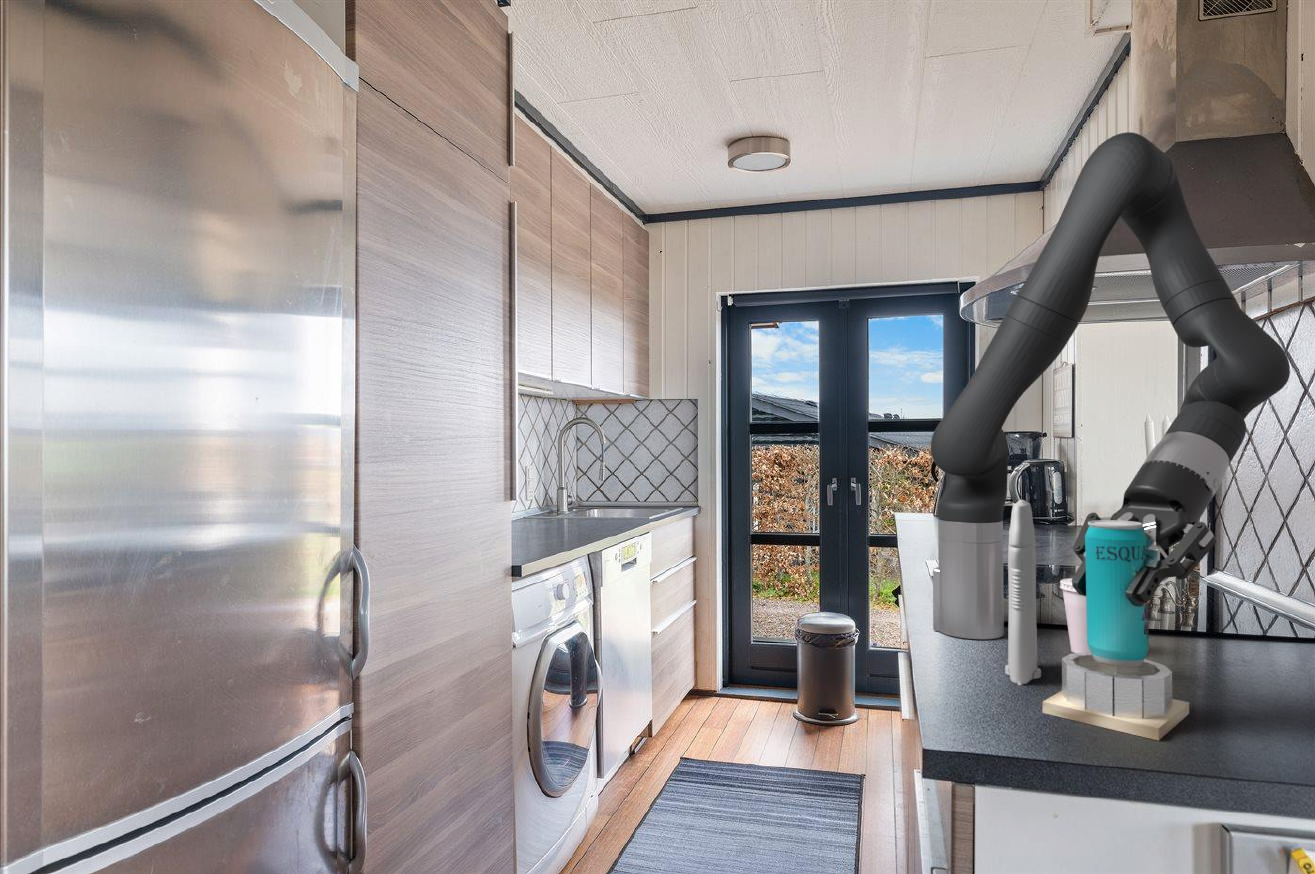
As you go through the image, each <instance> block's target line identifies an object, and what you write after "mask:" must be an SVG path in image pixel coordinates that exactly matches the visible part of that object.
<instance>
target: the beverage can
mask: <svg viewBox="0 0 1315 874" xmlns="http://www.w3.org/2000/svg"><path fill="white" fill-rule="evenodd" d="M1088 525H1089V528H1088V530H1087V532H1086V535H1085V556H1086V605H1087V644H1088V646H1089V649H1090V651H1091V654H1092V656H1093V658H1094V659H1095V660H1096V661H1097V662H1099V663H1102V664H1106V665H1110V666H1117V667H1137V666H1140V665H1141V664H1142V663H1143V661H1144V659H1146V657H1147V653H1148V651H1149V611H1148V610H1149V605H1148V604H1149V601H1148V602H1147V603H1144V605H1143V606H1142V607H1138V606H1133V605H1132V603H1131V602H1130V601H1129V600H1128V598H1127V597H1126V591H1127V589H1128V587H1129V586H1130V584H1131V582H1132V581H1133V579H1134V578H1135V576H1136V574H1137V573H1138V571H1139V570H1140V568H1141V567H1145V568H1146V564H1145V557H1146V536H1145V534H1144V532H1143V530H1142V526H1143V524H1142V523H1139V522H1132V521H1117V520H1097V521H1089V522H1088Z"/></svg>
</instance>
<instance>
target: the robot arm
mask: <svg viewBox="0 0 1315 874" xmlns="http://www.w3.org/2000/svg"><path fill="white" fill-rule="evenodd" d="M1182 190H1183V189H1182V187H1181V184H1180V180H1179V177H1178V174H1177V171H1176V168H1175V164H1174V163H1173V160H1172V159H1171V158H1170V157H1169V155H1168V154H1167V153H1165V152H1164V151H1163V150H1161V149H1160V148H1159V147H1157V145H1155V143H1153V142H1152V141H1150V139H1147V138H1146V137H1145V136H1143V135H1141V134H1139V133H1137V132H1132V131H1131V132H1121V133H1118V134H1115V135H1113V136H1110V137H1108V138H1107V139H1106V140H1104V141H1103V142H1102V143H1100V145H1098V146H1097V148H1096V149H1094V150H1093V152H1091V154H1090V155H1089V157H1088V159H1087V160H1086V161H1085V163H1084V165H1083V166H1082V169H1081V171H1080V172H1079V175H1078V177H1077V179H1076V180H1075V183H1074V185H1073V188H1072V191H1071V192H1070V194H1069V197H1068V199H1067V202H1066V203H1065V205H1064V208H1063V209H1062V212H1061V215H1060V217H1059V219H1058V220H1057V223H1056V225H1055V227H1054V229H1053V230H1052V232H1051V234H1050V237H1049V238H1048V240H1047V242H1046V244H1045V246H1043V249H1042V251H1041V253H1040V255H1039V256H1038V257H1037V259H1036V262H1035V264H1034V265H1033V267H1032V269H1031V271H1030V272H1029V274H1028V276H1027V278H1026V279H1025V281H1024V282H1023V284H1022V285H1021V287H1020V289H1019V290H1018V292H1017V293H1016V294H1017V295H1015V297H1014V299H1013V300H1012V302H1011V304H1010V306H1009V307H1008V309H1007V311H1006V313H1005V315H1004V317H1003V318H1002V320H1001V323H999V326H998V328H997V330H996V331H995V334H994V335H993V337H992V339H991V341H990V343H989V344H988V345H987V347H986V349H985V351H984V353H983V355H982V357H981V359H980V361H979V363H978V365H977V367H976V369H975V370H974V372H973V374H972V376H971V377H970V379H969V381H968V382H967V383H966V385H965V387H964V388H963V389H962V391H961V393H960V394H959V395H958V397H957V398H956V400H955V401H954V402H953V404H952V405H951V407H950V408H949V409H948V410H947V411H946V414H945V415H944V416H943V417H942V419H941V420H940V422H939V423H938V424H937V426H936V428H935V429H934V431H933V434H932V437H931V440H930V453H931V457H932V459H933V462H934V464H935V465H936V466H937V467H938V468H939V469H940V470H941V471H942V472H944V473H946V474H945V475H946V479H945V480H946V481H945V489H944V492H943V494H942V497H941V498H940V499H939V502H938V506H937V518H938V520H937V523H938V524H937V533H938V534H937V535H938V537H937V538H938V539H937V540H938V544H937V545H938V546H937V547H938V548H937V549H938V551H937V552H938V557H937V558H938V566H937V567H934V568H933V570H932V604H933V605H932V610H933V611H932V612H933V613H932V616H933V617H932V620H933V622H932V623H933V624H932V627H933V631H936V632H940V633H942V634H945V635H947V636H951V637H955V638H961V639H972V640H993V639H999V638H1002V637H1003V636H1004V634H1005V633H1004V632H1005V631H1004V630H1005V629H1004V625H1005V619H1004V617H1005V616H1004V614H1005V613H1004V608H1005V607H1004V523H1003V522H1004V521H1003V520H1004V507H1005V505H1006V502H1007V495H1008V476H1009V475H1008V473H1009V471H1008V470H1009V469H1008V467H1009V463H1008V461H1009V451H1008V442H1007V436H1006V434H1005V431H1004V430H1003V426H1004V425H1005V422H1006V420H1007V418H1008V417H1009V415H1010V413H1011V411H1012V410H1013V408H1014V406H1015V405H1016V404H1017V402H1018V401H1019V399H1020V398H1021V397H1022V395H1023V394H1024V393H1025V392H1026V391H1027V390H1028V389H1029V388H1030V387H1031V386H1032V385H1033V384H1034V383H1035V382H1036V381H1037V380H1038V379H1039V378H1040V377H1041V376H1042V375H1043V374H1044V373H1045V371H1046V370H1047V369H1048V368H1049V367H1051V365H1053V363H1054V362H1055V360H1056V359H1057V358H1058V357H1059V355H1060V354H1061V353H1062V351H1063V350H1064V348H1065V347H1066V345H1067V344H1068V342H1069V341H1070V339H1071V337H1072V336H1073V334H1074V332H1075V330H1076V329H1077V328H1078V326H1079V324H1080V323H1081V321H1082V319H1083V317H1084V315H1085V313H1086V311H1087V308H1088V306H1089V303H1090V300H1091V297H1092V291H1093V288H1094V287H1093V286H1094V284H1095V283H1094V282H1095V277H1096V270H1097V265H1098V263H1099V258H1100V256H1101V255H1100V254H1101V252H1102V249H1103V247H1104V245H1105V242H1106V240H1107V238H1108V236H1109V235H1110V234H1111V231H1112V230H1113V228H1114V227H1115V225H1116V224H1117V222H1118V220H1119V219H1121V220H1122V221H1123V222H1124V223H1125V224H1126V225H1127V227H1128V228H1129V229H1130V230H1131V232H1132V233H1133V234H1134V235H1135V237H1136V238H1137V240H1138V241H1139V243H1140V245H1141V246H1142V249H1143V250H1144V253H1145V256H1146V258H1147V261H1148V265H1149V269H1150V274H1151V278H1152V283H1153V287H1154V289H1155V292H1156V295H1157V298H1158V300H1159V302H1160V304H1161V307H1162V308H1163V310H1164V313H1165V314H1166V316H1167V319H1168V320H1169V321H1170V324H1171V325H1172V329H1173V330H1174V331H1175V334H1176V335H1177V337H1178V338H1179V341H1181V342H1182V343H1183V344H1184V345H1186V346H1187V347H1190V348H1203V347H1208V346H1210V347H1211V348H1212V349H1213V350H1214V352H1215V354H1216V356H1217V357H1216V358H1215V359H1214V360H1212V362H1210V363H1209V364H1208V365H1207V366H1206V367H1204V369H1201V371H1200V372H1199V373H1198V374H1197V376H1196V377H1195V378H1194V380H1193V381H1192V383H1191V384H1190V386H1189V387H1188V389H1187V391H1186V393H1185V396H1184V399H1183V402H1182V404H1181V406H1180V410H1179V413H1178V414H1177V416H1176V417H1175V418H1174V419H1173V421H1172V422H1171V424H1170V425H1169V427H1168V429H1167V430H1166V432H1165V433H1164V435H1163V437H1162V438H1161V439H1160V441H1159V442H1158V443H1157V444H1156V445H1155V446H1154V447H1153V449H1152V450H1151V451H1150V453H1149V454H1148V456H1147V457H1146V459H1145V460H1144V462H1143V464H1141V466H1140V468H1139V470H1138V471H1137V472H1136V474H1135V476H1134V477H1133V479H1132V480H1131V482H1130V484H1129V485H1128V486H1127V488H1126V490H1125V491H1124V493H1123V501H1122V506H1121V508H1120V509H1119V510H1117V511H1116V512H1114V513H1113V514H1112V515H1111V516H1106V517H1105V516H1104V517H1103V516H1101V517H1100V516H1099V515H1098V513H1097V512H1090V513H1088V514H1087V516H1086V517H1085V520H1084V522H1083V524H1082V526H1081V528H1080V530H1079V533H1078V535H1077V538H1076V539H1075V542H1074V544H1073V546H1072V551H1073V552H1074V553H1075V555H1076V556H1077V557H1078V559H1080V561H1081V564H1080V565H1079V567H1078V568H1077V570H1076V571H1075V573H1074V574H1073V576H1072V577H1071V578H1072V586H1073V587H1074V589H1075V590H1076V591H1077V592H1078V594H1079V595H1083V596H1086V556H1085V535H1086V532H1087V530H1088V528H1089V525H1088V522H1089V521H1097V520H1117V521H1132V522H1139V523H1142V524H1143V526H1142V530H1143V532H1144V534H1145V536H1146V557H1145V564H1146V568H1145V567H1141V568H1140V570H1139V571H1138V573H1137V574H1136V576H1135V578H1134V579H1133V581H1132V582H1131V584H1130V586H1129V587H1128V589H1127V591H1126V597H1127V598H1128V600H1129V601H1130V602H1131V603H1132V605H1133V606H1138V607H1142V606H1143V605H1144V603H1147V602H1148V603H1149V602H1150V601H1151V600H1152V599H1153V596H1154V595H1155V593H1156V591H1157V589H1158V588H1159V587H1160V584H1161V583H1162V582H1165V581H1167V580H1168V579H1169V578H1176V579H1177V580H1182V581H1183V580H1185V579H1187V578H1188V577H1189V576H1190V575H1191V573H1193V571H1194V570H1195V568H1196V567H1197V566H1198V565H1199V564H1200V563H1201V561H1202V560H1203V559H1204V558H1205V556H1206V555H1207V554H1208V552H1209V551H1210V550H1211V549H1212V548H1213V547H1214V546H1215V545H1216V544H1217V542H1218V541H1217V537H1216V536H1215V535H1214V533H1213V532H1212V531H1211V529H1210V528H1209V527H1208V525H1207V523H1205V522H1204V521H1200V519H1201V518H1202V516H1203V514H1204V512H1205V511H1206V509H1207V507H1208V505H1209V504H1210V502H1211V501H1212V500H1213V498H1214V496H1215V495H1216V493H1217V491H1218V490H1219V488H1220V486H1221V484H1222V482H1223V480H1224V479H1225V475H1226V472H1227V469H1228V468H1229V465H1230V464H1231V463H1232V461H1233V460H1234V457H1235V456H1236V454H1237V452H1238V451H1239V449H1240V448H1241V446H1242V443H1243V442H1244V440H1245V437H1246V433H1247V424H1246V421H1245V420H1246V417H1248V415H1249V414H1250V413H1251V412H1253V410H1254V409H1256V408H1257V407H1259V406H1260V405H1261V404H1262V403H1264V402H1266V401H1267V400H1269V399H1270V398H1271V397H1273V396H1274V395H1276V394H1277V393H1279V392H1280V391H1281V390H1283V388H1284V387H1285V386H1286V384H1287V383H1288V381H1289V379H1290V376H1291V375H1290V374H1291V369H1290V368H1291V367H1290V362H1289V358H1288V356H1287V354H1286V352H1285V350H1284V349H1283V348H1282V346H1281V345H1280V344H1279V343H1278V342H1277V341H1276V340H1275V339H1274V338H1273V337H1272V336H1271V335H1270V334H1269V333H1268V332H1266V331H1265V330H1264V328H1262V327H1261V326H1260V325H1259V324H1258V323H1257V322H1256V321H1255V320H1254V319H1253V318H1251V316H1249V315H1248V314H1246V312H1244V310H1242V309H1241V307H1240V304H1239V303H1238V301H1237V299H1236V297H1235V296H1234V293H1233V292H1232V290H1231V288H1230V286H1229V285H1228V283H1227V281H1226V280H1225V278H1224V276H1223V275H1222V273H1221V271H1220V269H1219V268H1218V266H1217V264H1216V263H1215V261H1214V259H1213V258H1212V256H1211V255H1210V252H1209V251H1208V250H1207V248H1206V246H1205V244H1204V242H1203V241H1202V239H1201V237H1200V235H1199V233H1198V231H1197V229H1196V227H1195V225H1194V222H1193V219H1192V217H1191V215H1190V212H1189V209H1188V207H1187V203H1186V201H1185V198H1184V193H1183V191H1182ZM1173 546H1175V547H1174V548H1173V549H1172V547H1173Z"/></svg>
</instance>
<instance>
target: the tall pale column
mask: <svg viewBox="0 0 1315 874" xmlns="http://www.w3.org/2000/svg"><path fill="white" fill-rule="evenodd" d="M1032 510H1033V509H1032V505H1031V503H1030V502H1028V501H1026V500H1024V499H1020V500H1018V501H1016V503H1014V504H1012V508H1011V516H1010V526H1009V529H1008V530H1009V531H1008V547H1007V549H1008V551H1007V555H1008V556H1007V558H1008V559H1007V563H1008V564H1007V565H1008V566H1007V571H1008V577H1007V578H1008V625H1007V626H1008V630H1007V631H1008V639H1007V641H1008V642H1007V646H1008V647H1007V661H1008V662H1007V664H1006V665H1005V666H1004V672H1005V673H1004V674H1006V675H1008V676H1009V677H1010V682H1011V683H1012V684H1013V685H1016V686H1025V685H1028V684H1029V683H1030V682H1032V681H1033V680H1035V679H1036V680H1037V679H1039V678H1041V677H1042V670H1041V668H1039V667H1038V636H1037V635H1038V629H1037V562H1036V561H1037V554H1036V553H1037V552H1036V551H1037V550H1036V533H1035V525H1034V520H1033V511H1032Z"/></svg>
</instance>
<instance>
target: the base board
mask: <svg viewBox="0 0 1315 874" xmlns="http://www.w3.org/2000/svg"><path fill="white" fill-rule="evenodd" d="M1042 714H1046V715H1050V716H1054V717H1059V718H1063V719H1067V720H1072V721H1075V722H1080V723H1083V724H1087V725H1092V726H1096V727H1099V728H1103V729H1104V728H1105V729H1109V730H1113V731H1117V732H1120V733H1121V732H1123V733H1125V734H1128V735H1129V734H1130V735H1134V736H1138V737H1142V738H1147V739H1152V740H1156V741H1160V740H1161V739H1162V738H1163V737H1165V736H1166V735H1167V734H1168V733H1169V732H1170V731H1171V730H1172V729H1174V728H1175V727H1176V726H1177V725H1178V724H1179V723H1180V722H1182V721H1183V720H1184V719H1185V718H1186V717H1187V716H1188V715H1189V714H1190V702H1189V701H1184V700H1179V699H1174V698H1172V711H1171V712H1170V713H1169V714H1168V715H1167V716H1164V717H1158V718H1148V719H1143V718H1142V719H1137V718H1125V717H1115V716H1109V715H1105V714H1101V713H1096V712H1092V711H1087V710H1084V709H1082V708H1080V707H1077V706H1075V705H1073V704H1071V703H1068V702H1067V701H1066V700H1065V698H1064V697H1063V695H1062V690H1060V691H1059V692H1057V693H1055V694H1053V695H1052V696H1050V697H1048V698H1047V699H1044V700H1042Z"/></svg>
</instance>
